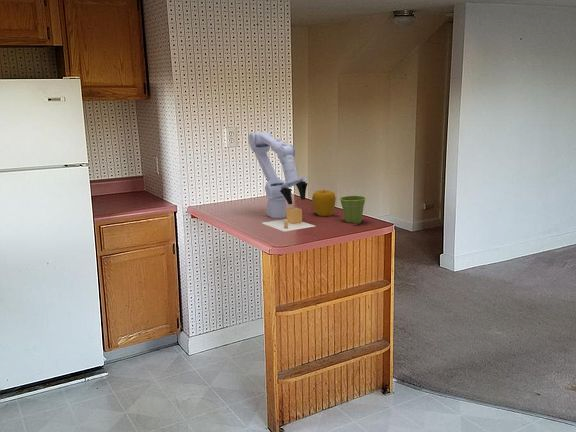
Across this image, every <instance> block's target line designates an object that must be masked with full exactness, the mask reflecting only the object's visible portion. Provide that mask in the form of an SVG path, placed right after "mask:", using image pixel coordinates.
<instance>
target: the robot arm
mask: <svg viewBox="0 0 576 432" xmlns="http://www.w3.org/2000/svg"><path fill="white" fill-rule="evenodd" d="M248 144H249V147H250V149H251V151H252V152H253V153H254V156H256V159H257V161H258V162H257V163H258V164H259V166H260V168H261V171H262V173H263V175H264V177H265V179H266V183H265V186H264V190H265V191H264V192H265V196H266V197H267V198H266V199H268V201H267V202H266V213H267V216H269V217H270V218H273V219H284V218H287V213H286V209H287V205H286V204H288V205H293V198H292V187H295V186H296V188H297V190H298V192H299V193H298V194H299V196H300V200H301V201H305V200H306V192H307V188H308V187H307V186H308V183H307V182H308V179H307V176H303V177H299V176H298V175H299V174H298V172H297V170H298V169H297V168H296V167H297V166H296V162H295V158H294V157H295V155H296V150H295V147H294V146H293V145H292V144H289V145H288V144H287V143H285V142H283V141H282V140H281V139H280V138H274V137H273V136H272V133H271V132H269V131H268V130H267V131H262V132H261V131H257V132H250V133H249V135H248ZM270 150H271V151H273V152H274V153H275V154H276V155H277V158H278V160H279V162H280V164H281V166H282V171H283V176H284V179H285V180H283V179H280V178H279V177H278V174H277V173H276V170H275V169H274V166H273V164H272V162H271V160H270V158H269V155H268V152H269V151H270ZM286 202H287V203H286Z"/></svg>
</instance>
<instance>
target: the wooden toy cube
mask: <svg viewBox="0 0 576 432" xmlns="http://www.w3.org/2000/svg"><path fill="white" fill-rule="evenodd" d="M286 219H287V220H288V223H291V224H296V223H302V222H303V209H302V208H299V207H297V206H296V207H290V208H286Z"/></svg>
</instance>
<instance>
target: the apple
mask: <svg viewBox="0 0 576 432" xmlns="http://www.w3.org/2000/svg"><path fill="white" fill-rule="evenodd" d="M336 198H337V197H336V193H335V192H333V191H332V190H328V189H327V190H325V189H321V190H320V189H319V190H316V191H315V192H314V193H313V194H312V197H311V202H312V207H313V210H314V211H315V213H316V215H317V216H319V217H332V216H333V214H334V211H335V206H336V200H337V199H336Z"/></svg>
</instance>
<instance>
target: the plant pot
mask: <svg viewBox="0 0 576 432" xmlns="http://www.w3.org/2000/svg"><path fill="white" fill-rule="evenodd" d="M366 199H367V197H366V196H364V195H345V196H341V197H339V201H340V204H341V207H342V213H343V218H344V221H345V222H347V223H352V224H356V225H359V224H361V222H362V219H363V213H364V206H365V203H366Z"/></svg>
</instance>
